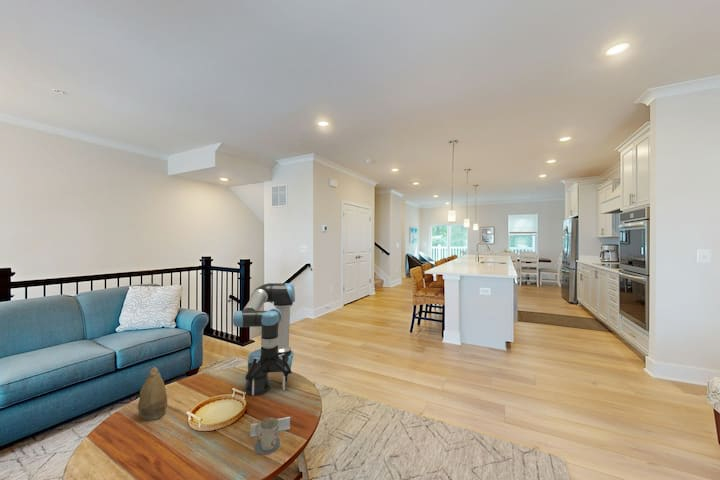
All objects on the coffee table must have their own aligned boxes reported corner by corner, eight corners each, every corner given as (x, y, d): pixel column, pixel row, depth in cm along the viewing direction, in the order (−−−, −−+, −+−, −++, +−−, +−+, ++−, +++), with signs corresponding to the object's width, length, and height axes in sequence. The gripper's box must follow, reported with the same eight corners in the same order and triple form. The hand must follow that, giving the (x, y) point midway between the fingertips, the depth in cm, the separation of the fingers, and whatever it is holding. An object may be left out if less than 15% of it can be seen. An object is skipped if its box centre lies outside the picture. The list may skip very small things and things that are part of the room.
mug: (269, 455, 121) (270, 431, 120) (247, 446, 126) (247, 423, 125) (282, 442, 128) (282, 420, 128) (260, 434, 133) (261, 413, 133)
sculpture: (133, 418, 143) (134, 369, 143) (157, 406, 153) (158, 360, 153) (147, 425, 138) (148, 374, 138) (171, 413, 148) (172, 365, 148)
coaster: (254, 439, 130) (254, 439, 130) (278, 434, 134) (278, 433, 134) (254, 457, 120) (254, 456, 120) (281, 450, 124) (281, 449, 124)
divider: (250, 433, 134) (250, 423, 134) (289, 425, 141) (289, 415, 141) (250, 437, 131) (250, 427, 131) (290, 429, 138) (290, 419, 138)
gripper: (240, 352, 122) (239, 400, 123) (298, 345, 132) (297, 390, 132) (240, 345, 129) (239, 391, 130) (295, 339, 139) (294, 382, 139)
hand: (268, 391), depth 131 cm, fingers open, 13 cm apart
